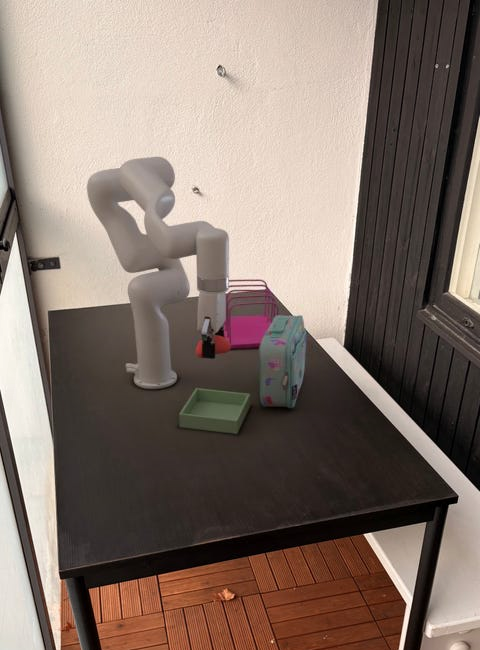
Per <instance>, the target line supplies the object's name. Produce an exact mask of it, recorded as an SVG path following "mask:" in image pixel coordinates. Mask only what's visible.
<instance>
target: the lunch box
mask: <svg viewBox="0 0 480 650" xmlns="http://www.w3.org/2000/svg"><path fill="white" fill-rule="evenodd" d="M306 349H307V329H306V327H305V321H304V317H303V315H301V314H300V315H282V314H281V315H277V314H275V318H274V319H273V318H272V323H271V325H270V327H269V328H268V330H267V332H266V333H265V335H264V337H263V339H262V341H261V344H260V347H258V378H259V380H258V381H259V397H260V402H261V405H262V406H263V407H264V408H267V407H268V408H269V407H270V408H275V407H276V408H277V407H279V408H281V407H282V408H288V409H292V408H294V407H295V405H296V402H297V399H298V396H299V393H300V390H301V387H302V385H303V381H304V374H305V367H306V366H305V364H306Z"/></svg>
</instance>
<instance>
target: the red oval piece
mask: <svg viewBox="0 0 480 650" xmlns="http://www.w3.org/2000/svg"><path fill="white" fill-rule="evenodd" d="M209 336H210V338H211V334H209ZM214 343H215V355H221V354H227V353H228V352H230V350H231V349H230V348H231V344H230V342H229V341H228V340H227V339H226V338H224V337H222V336H219V335H215V338H214ZM195 355H196V356H197V357H198V358H200V359H204V358H203V357H202V339H200V340H199V341H198V343H197V345H196V347H195Z"/></svg>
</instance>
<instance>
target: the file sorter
mask: <svg viewBox="0 0 480 650" xmlns="http://www.w3.org/2000/svg"><path fill="white" fill-rule="evenodd" d="M233 282H262V283H263V284H231V285H230V284H229V288H240V287H241V288H244V287H245V288H246V287H263V288H265V289H232V290H229V291H227V294H226V318H225V321H224V329H222V330H224V338H226V339H227V340H228V341H229V342H230V344H231V348H230V350H235V349H236V350H237V349H251V348H252V349H254V348H259V347H260V344H261V341H262V339H263V337H264V335H265V333H266V332H267V330H268V328H269V327H270V325H271V323H272V321H273V319H274V318H275V316H276V315H279V313H280V310H279V306H278V304H277V303H276V299H275V297H274V293H273V292H272V291H271V290H270V288H269V286H268V284H267V282H266V281H265V280H264V279H257V278H255V279H254V278H253V279H251V278H250V279H248V278H247V279H229V283H233ZM234 292H235V293H236V292H237V293H238V292H264V293H265V294H254V295H253V294H252V295H251V294H249V295H236V296H235V295H234V296H231V297H230V298H229V295H230V294H231V293H234ZM264 297H265V299H264V301H255V302H238V303H234V304H232V305H231V306H230V307H229V304H230V302H231V300H234V299H246V298H264ZM270 304H271V305H270ZM248 305H250V306H251V305H264V314H260V315H241V316H240V315H239V316H231V313H232V309H233V308H234V307H237V306H248ZM270 307H271V310H270Z"/></svg>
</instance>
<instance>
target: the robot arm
mask: <svg viewBox="0 0 480 650" xmlns="http://www.w3.org/2000/svg"><path fill="white" fill-rule="evenodd" d="M173 167H174V166H173V165H172V164H171V163H170V161H169V160H167V159H166V158H165V157H162V156H151V157H150V156H149V157H139V158H132V159H129V160H127V161H125V162H123V163H122V164H121V165H120V166H119V167H117V168H116V167H115V168H108V169H103V170H99V171H97V172H94V173H93V174H91V175H90V177H89V178H88V180H87V183H86V192H87V198H88V199H87V200H88V201H89V204H90V207H91V209H92V211H93V213H94V214H95V216H96V218H97V219H98V221H99V222H100V224H101V225H102V226H103V228H104V230H105V231H106V234H107V236H108V239H109V241H110V243H111V245H112V248H113V250H114V253H115V255H116V257H117V259H118V261H119V263H120V266H121V267H122V269H123V270H124V271H125V272H126V273H130V274H135V273H142V272H146V271H150V270H151V272H147V273H142V274H140V275H136V276H135V277H133V278H132V279H131V280H130V281H129V283H128V285H127V296H128V300H129V303H130V307H131V311H132V316H133V325H134V335H135V348H136V359H137V362H136V363H129V362H127V363H126V364H125V370H126V373H127V374H134V376H133V383H134V384H135V385H136V386H138V387H139V388H142V389H148V390H158V389H159V390H160V389H164V388H165V389H166V388H168V387H170V386H172V385H174V384H175V383H176V382H177V381H178V375H177V373H176V372H175V371H174V370H172V362H171V361H172V360H171V345H170V327H169V325H170V324H169V321H168V319H167V317H166V316H165V315H164V313H163V312H162V311H161V308H163V307H166V306H169V305H172V304H177V303H180V302H183V301H184V300H186V299H187V298H188V297H189V295H190V293H191V292H190V290H191V287H190V281H189V278H188V275H187V273H186V271H185V267H184V266H183V264H182V261H181V259H183V258H187V257H191V256H195V257H196V290H197V291H198V301H197V323H196V324H197V327H196V328H197V329H196V330H197V331H198V332H199V333H201V334H200V335H201V340H202V357H203V358H202V359H210V360H211V359H212V360H214V359H216V354H215V343H214V338H215V335H219V336H222V337H224V330H222V329H224V321H225V318H226V296H227V294H226V293H227V292H229V291H230V290H229V288H230V287H229V286H230V282H229V280H230V236H229V233H228V232H227V231H226V229H225V230H224V229H222V228H219V227H218V228H217V227H216V226H214V225H212V224H211V223H210V222H208V221H206V220H197V221H191V222H185V223H179V224H173V225H168V224H167V223H166V222H165V221H164V219H165V218H166V217H168V216H169V214H170V213H171V212H172V210H173V209H174V207H175V205H176V195H175V193H174V191H173V190H172V188H173V186H174V184H175V182H176V181H175V180H176V175H175V174H176V173H175V170H174V168H173ZM131 201H134V202H135V204H137V205H138V206H139V207H140V208H141V210H142V211H143V212H144V218H143V225H144V230H145V233H142V231H141V230H140V227H139V225H138V222H137V221H136V219H135V217H134V216H133V215H132V214H131V213H130V212H129V211H128V210H127V209H125V208H124V207H122V206H121V205H120V204H119V203H123V202H131ZM156 269H157V270H156ZM152 270H156V271H152ZM210 335H211V338H210Z"/></svg>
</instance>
